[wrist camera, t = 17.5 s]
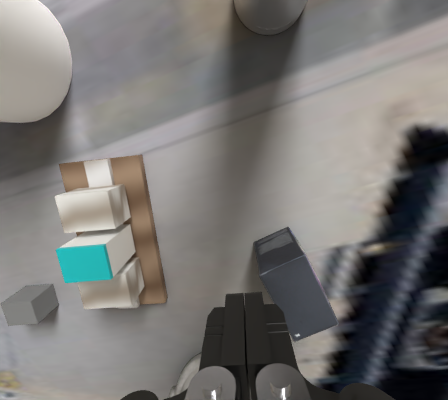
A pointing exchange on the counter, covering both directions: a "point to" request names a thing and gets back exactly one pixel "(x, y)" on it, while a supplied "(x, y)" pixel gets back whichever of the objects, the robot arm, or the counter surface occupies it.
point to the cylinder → (31, 61)
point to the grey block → (30, 304)
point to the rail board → (136, 221)
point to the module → (96, 254)
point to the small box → (293, 284)
